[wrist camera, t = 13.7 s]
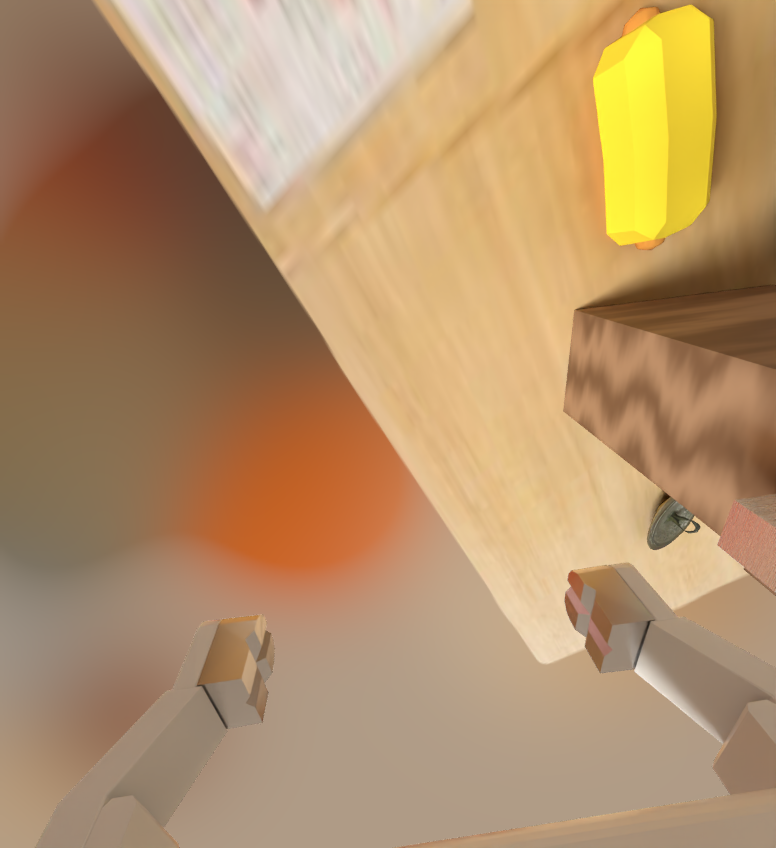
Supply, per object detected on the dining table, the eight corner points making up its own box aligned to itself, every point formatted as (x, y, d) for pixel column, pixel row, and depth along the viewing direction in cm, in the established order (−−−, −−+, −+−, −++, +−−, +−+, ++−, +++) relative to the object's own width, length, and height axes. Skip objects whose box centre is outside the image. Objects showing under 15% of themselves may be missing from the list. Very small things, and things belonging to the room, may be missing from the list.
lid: (639, 480, 51) (667, 503, 46) (708, 475, 52) (741, 497, 47) (621, 539, 56) (644, 564, 51) (684, 533, 56) (712, 558, 52)
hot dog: (671, 0, 30) (577, 42, 31) (750, -61, 24) (632, -8, 25) (674, 235, 38) (600, 264, 38) (735, 233, 32) (646, 268, 32)
